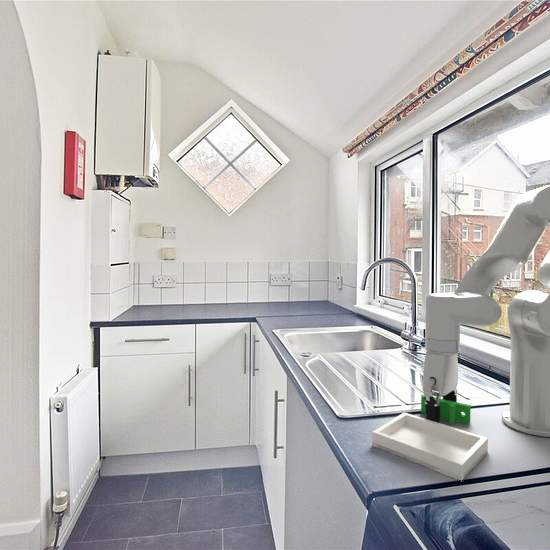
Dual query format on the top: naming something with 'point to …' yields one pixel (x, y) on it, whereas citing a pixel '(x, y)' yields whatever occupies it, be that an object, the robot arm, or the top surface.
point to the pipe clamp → (451, 411)
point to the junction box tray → (431, 444)
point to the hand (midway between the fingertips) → (441, 415)
